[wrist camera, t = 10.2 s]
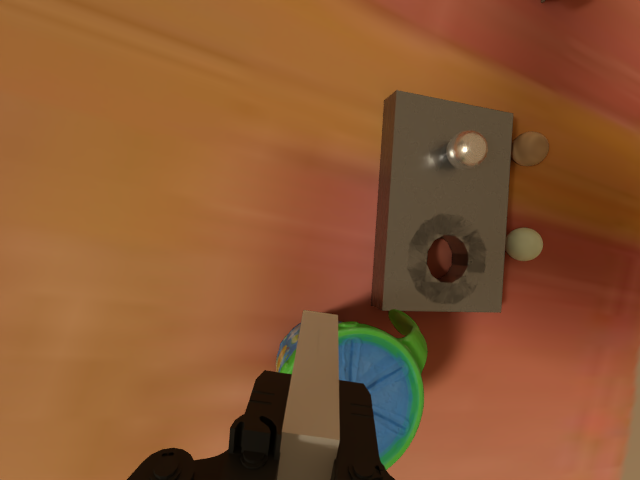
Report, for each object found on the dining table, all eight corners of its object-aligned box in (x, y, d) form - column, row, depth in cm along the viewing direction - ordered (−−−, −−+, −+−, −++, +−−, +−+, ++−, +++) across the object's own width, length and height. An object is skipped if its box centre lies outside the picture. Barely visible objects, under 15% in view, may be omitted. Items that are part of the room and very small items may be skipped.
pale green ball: (498, 226, 39) (524, 225, 35) (524, 229, 40) (552, 228, 36) (495, 259, 39) (522, 261, 35) (522, 260, 40) (550, 263, 36)
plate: (384, 100, 35) (396, 90, 33) (494, 121, 39) (513, 113, 36) (370, 305, 35) (382, 310, 32) (483, 307, 38) (501, 312, 36)
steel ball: (439, 133, 34) (464, 122, 31) (471, 138, 35) (498, 128, 31) (437, 170, 34) (461, 163, 30) (469, 174, 35) (495, 168, 31)
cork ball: (503, 134, 39) (530, 124, 36) (529, 139, 40) (558, 130, 36) (501, 166, 39) (528, 160, 35) (527, 170, 40) (556, 164, 36)
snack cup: (262, 452, 32) (281, 546, 22) (210, 349, 31) (206, 401, 21) (405, 363, 36) (475, 411, 26) (364, 269, 35) (421, 281, 25)
